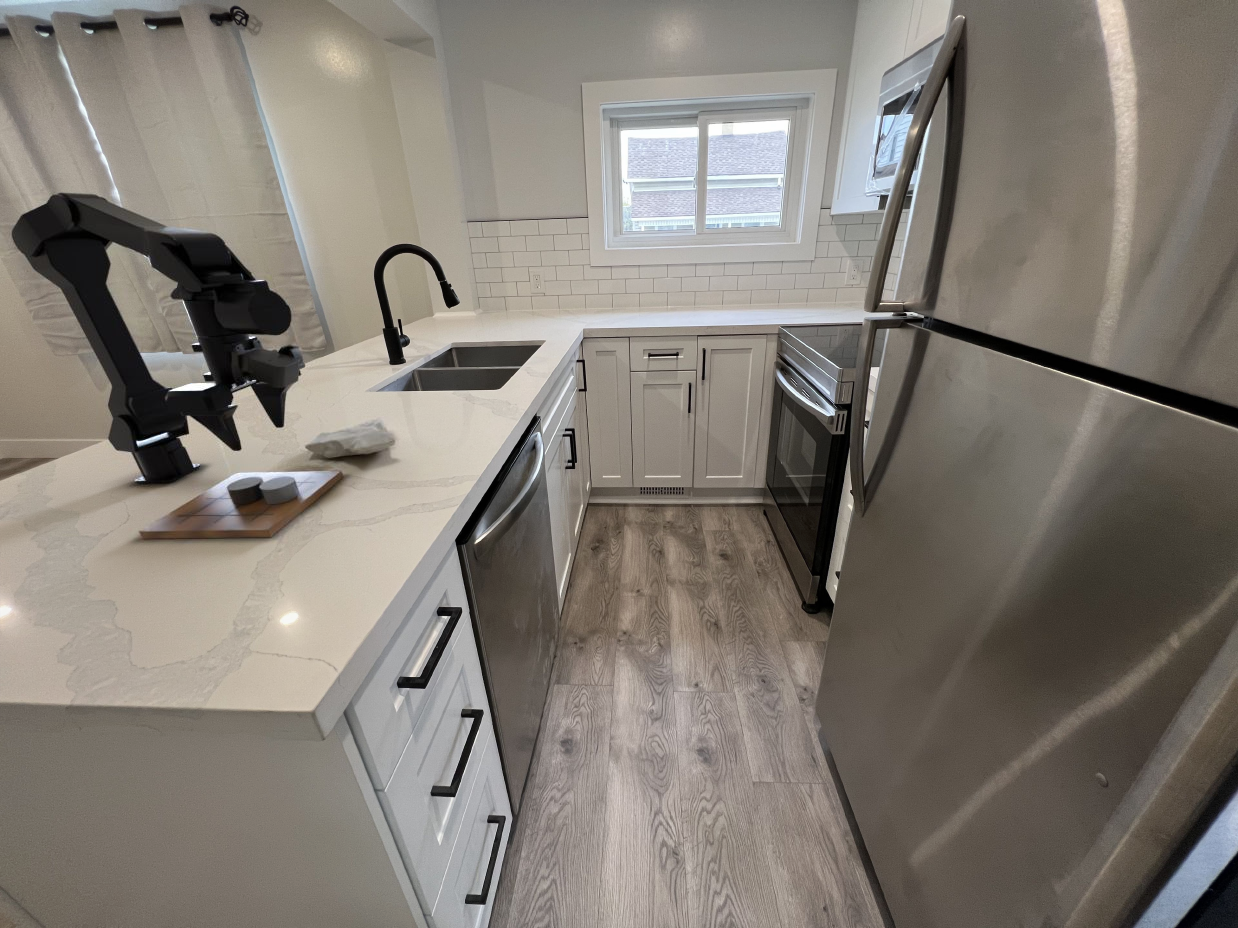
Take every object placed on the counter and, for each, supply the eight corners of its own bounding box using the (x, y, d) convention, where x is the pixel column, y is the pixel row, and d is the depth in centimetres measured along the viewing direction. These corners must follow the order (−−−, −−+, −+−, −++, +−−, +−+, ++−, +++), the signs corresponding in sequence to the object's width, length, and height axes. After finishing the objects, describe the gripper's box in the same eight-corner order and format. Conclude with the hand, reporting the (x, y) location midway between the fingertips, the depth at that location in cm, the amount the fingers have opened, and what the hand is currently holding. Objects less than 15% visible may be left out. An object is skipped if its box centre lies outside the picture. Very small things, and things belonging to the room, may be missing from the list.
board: (142, 538, 67) (138, 531, 66) (239, 479, 83) (236, 472, 83) (271, 537, 66) (267, 529, 66) (343, 477, 82) (341, 470, 82)
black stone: (225, 504, 72) (219, 490, 71) (246, 490, 76) (241, 476, 75) (254, 504, 72) (248, 489, 71) (274, 490, 76) (269, 476, 75)
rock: (304, 484, 81) (400, 457, 86) (293, 458, 79) (391, 432, 84) (319, 448, 99) (397, 428, 104) (310, 426, 98) (389, 407, 102)
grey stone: (258, 504, 72) (252, 490, 71) (278, 490, 76) (272, 476, 75) (287, 504, 72) (282, 489, 71) (305, 489, 76) (301, 475, 75)
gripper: (227, 346, 59) (269, 464, 66) (318, 321, 76) (345, 416, 83) (138, 348, 60) (189, 464, 67) (249, 322, 77) (281, 417, 84)
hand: (260, 438), depth 75 cm, fingers open, 9 cm apart
